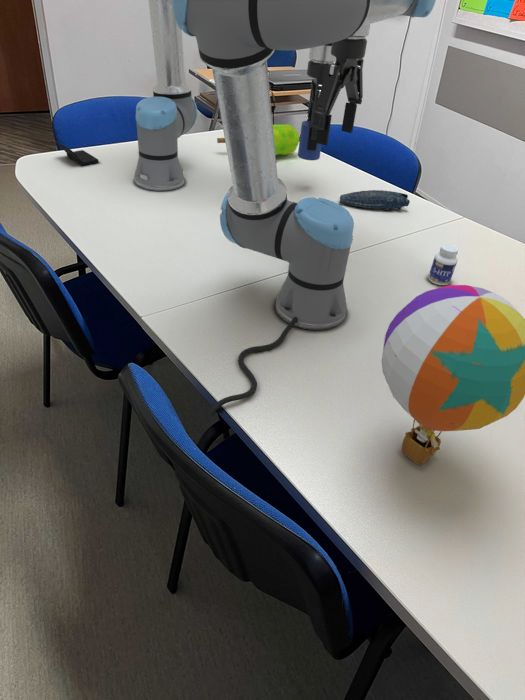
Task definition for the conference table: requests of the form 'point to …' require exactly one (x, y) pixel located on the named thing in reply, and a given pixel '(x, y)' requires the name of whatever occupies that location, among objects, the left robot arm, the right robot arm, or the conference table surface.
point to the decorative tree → (281, 139)
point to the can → (302, 150)
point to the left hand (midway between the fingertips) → (310, 145)
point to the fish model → (376, 199)
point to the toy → (454, 363)
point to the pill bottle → (443, 265)
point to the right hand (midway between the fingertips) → (334, 137)
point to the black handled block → (79, 155)
